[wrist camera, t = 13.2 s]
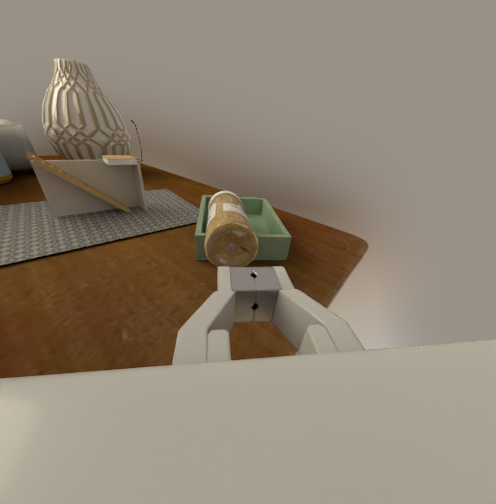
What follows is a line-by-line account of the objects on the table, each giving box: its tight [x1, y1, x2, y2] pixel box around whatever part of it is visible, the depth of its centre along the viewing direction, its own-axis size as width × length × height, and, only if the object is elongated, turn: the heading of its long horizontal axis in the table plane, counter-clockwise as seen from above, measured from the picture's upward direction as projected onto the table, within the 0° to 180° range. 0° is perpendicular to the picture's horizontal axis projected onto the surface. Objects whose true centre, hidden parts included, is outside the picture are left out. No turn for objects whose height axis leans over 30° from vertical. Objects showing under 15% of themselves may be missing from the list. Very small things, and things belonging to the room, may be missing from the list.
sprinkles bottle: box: [204, 191, 259, 267], centre depth 22 cm, size 5×5×14 cm
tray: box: [195, 195, 292, 260], centre depth 27 cm, size 13×10×3 cm
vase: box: [42, 58, 131, 160], centre depth 46 cm, size 16×16×20 cm
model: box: [26, 152, 149, 218], centre depth 27 cm, size 3×11×8 cm, turn 131°
